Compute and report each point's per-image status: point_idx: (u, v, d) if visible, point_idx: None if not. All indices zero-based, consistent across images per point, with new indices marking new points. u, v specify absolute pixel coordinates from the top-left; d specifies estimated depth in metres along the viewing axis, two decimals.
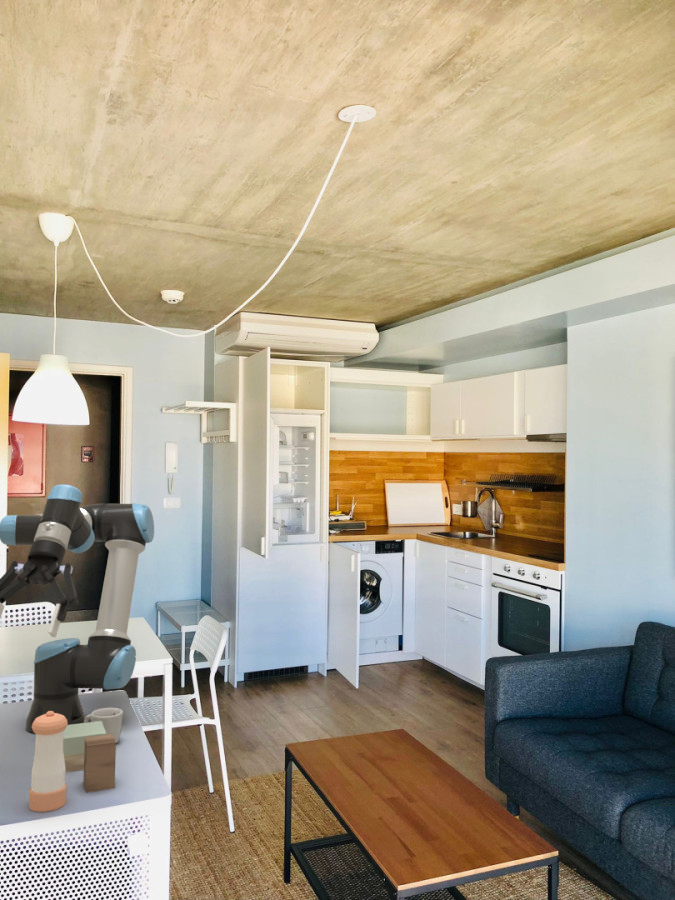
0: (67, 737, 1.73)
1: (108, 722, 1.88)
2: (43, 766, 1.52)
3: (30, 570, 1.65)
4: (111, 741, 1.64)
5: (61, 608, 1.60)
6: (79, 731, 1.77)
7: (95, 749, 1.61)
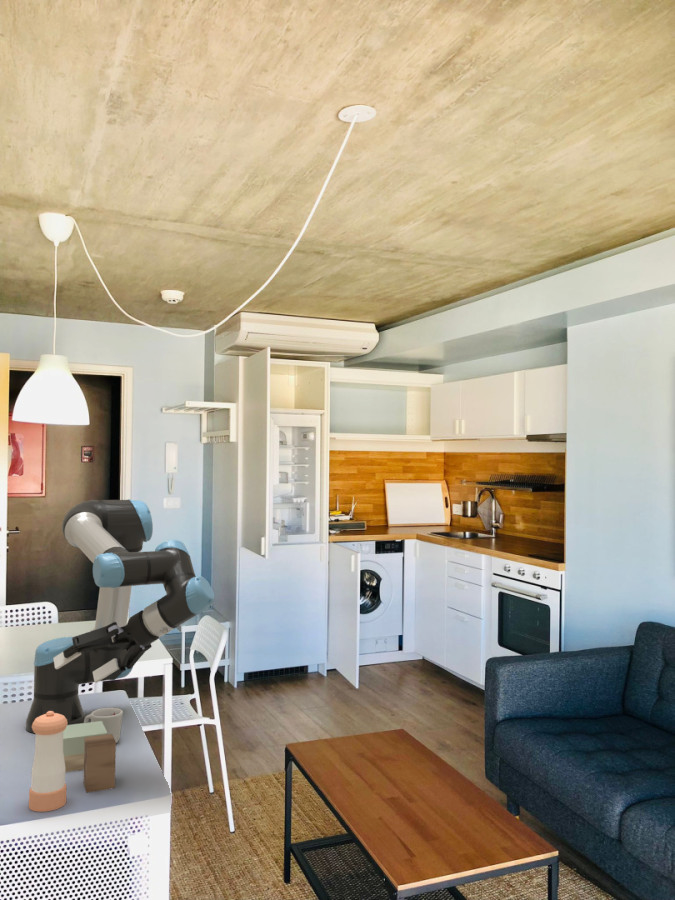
0: (69, 737, 1.73)
1: (108, 722, 1.88)
2: (43, 766, 1.52)
3: (122, 645, 1.66)
4: (112, 741, 1.64)
5: None
6: (80, 731, 1.78)
7: (95, 749, 1.61)
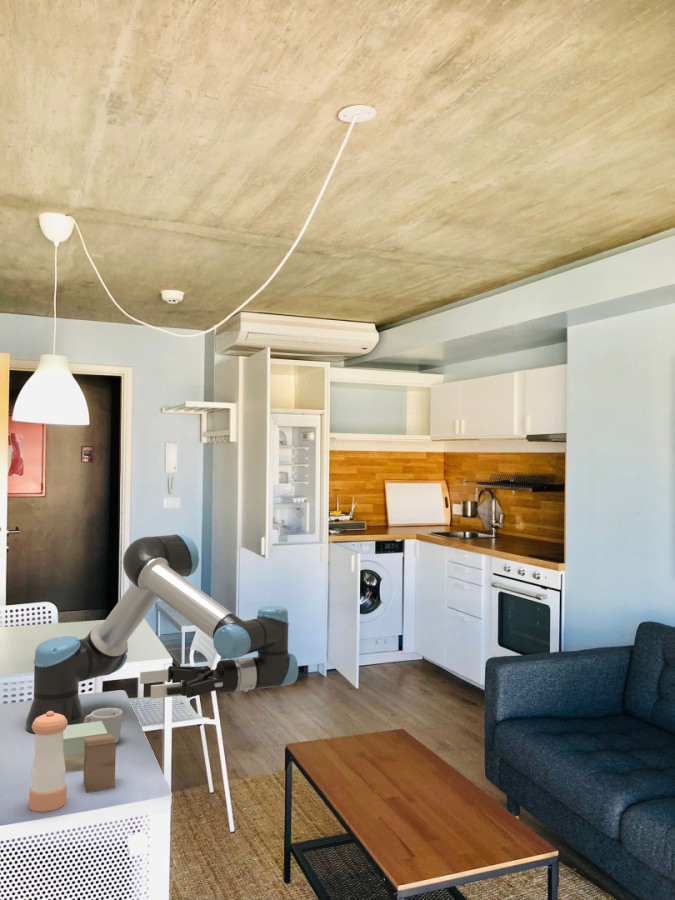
0: (69, 737, 1.73)
1: (108, 722, 1.88)
2: (43, 766, 1.52)
3: None
4: (111, 741, 1.64)
5: None
6: (80, 731, 1.77)
7: (95, 749, 1.61)
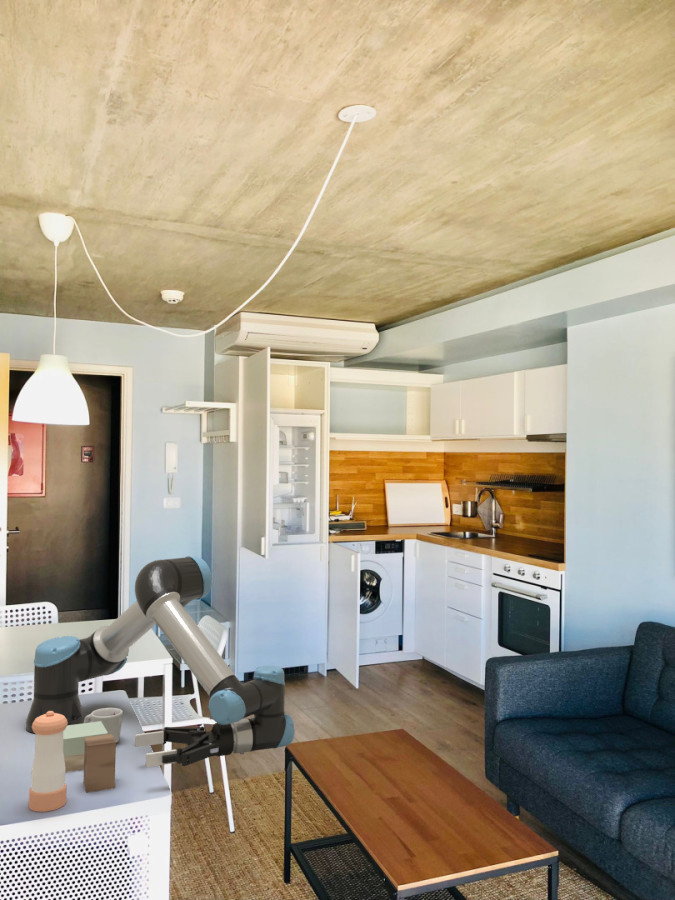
0: (69, 737, 1.73)
1: (108, 722, 1.88)
2: (43, 766, 1.52)
3: None
4: (112, 741, 1.64)
5: None
6: (80, 731, 1.77)
7: (95, 749, 1.61)
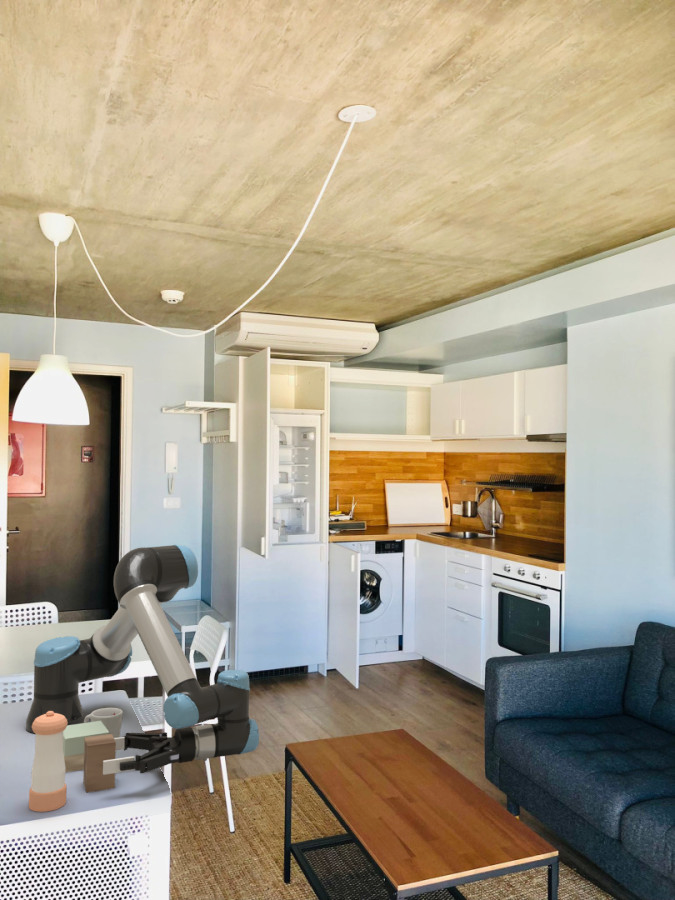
0: (71, 737, 1.73)
1: (108, 722, 1.88)
2: (43, 766, 1.52)
3: None
4: (111, 741, 1.64)
5: None
6: (81, 730, 1.77)
7: (95, 749, 1.61)
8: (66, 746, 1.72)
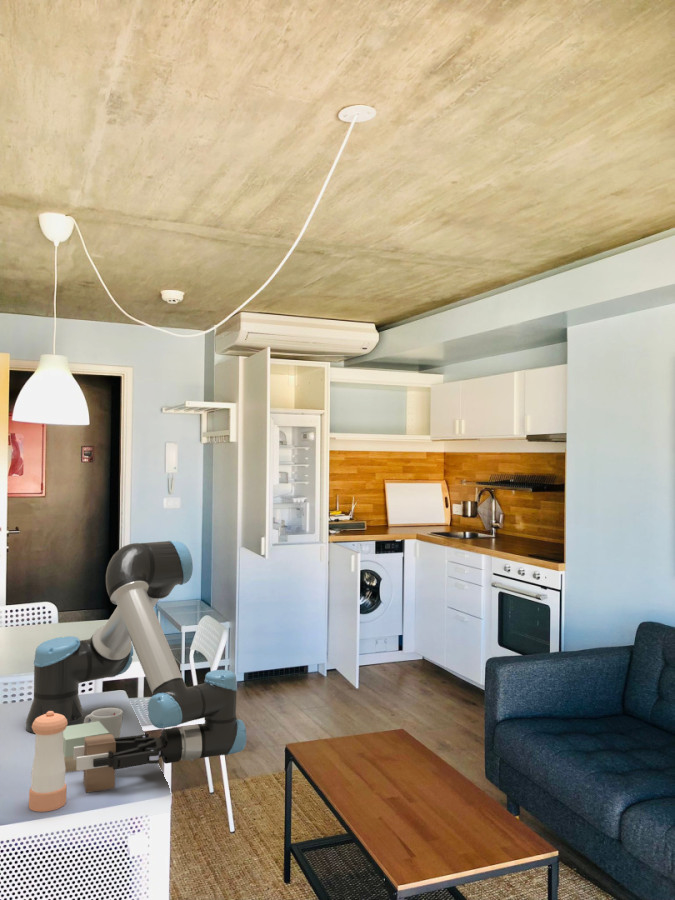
0: (71, 738, 1.73)
1: (108, 722, 1.88)
2: (43, 766, 1.52)
3: None
4: (112, 741, 1.64)
5: None
6: (80, 731, 1.77)
7: (95, 749, 1.61)
8: (66, 747, 1.72)
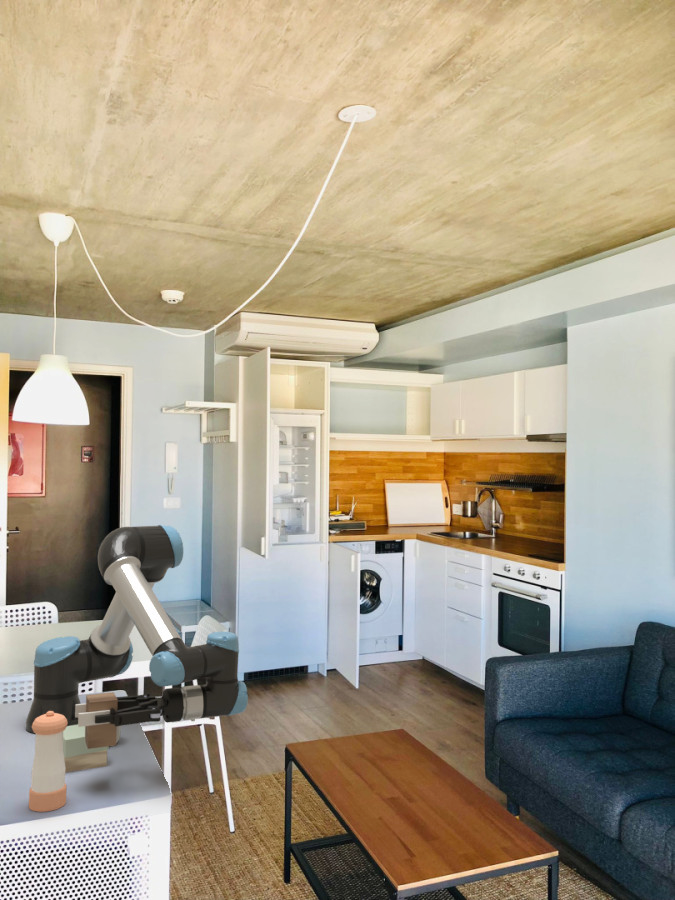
0: (71, 738, 1.72)
1: None
2: (43, 766, 1.52)
3: None
4: (113, 699, 1.64)
5: None
6: (80, 731, 1.77)
7: (97, 706, 1.62)
8: (66, 747, 1.71)
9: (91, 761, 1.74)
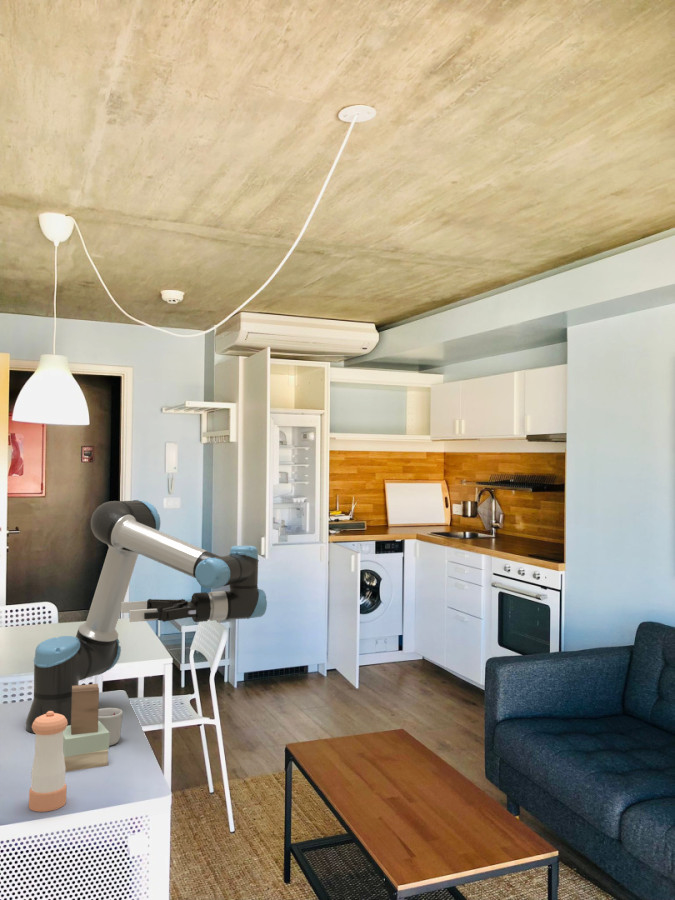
0: (71, 737, 1.73)
1: (108, 722, 1.88)
2: (43, 766, 1.52)
3: None
4: (95, 689, 1.78)
5: None
6: None
7: (79, 695, 1.76)
8: (67, 747, 1.72)
9: (92, 761, 1.75)
